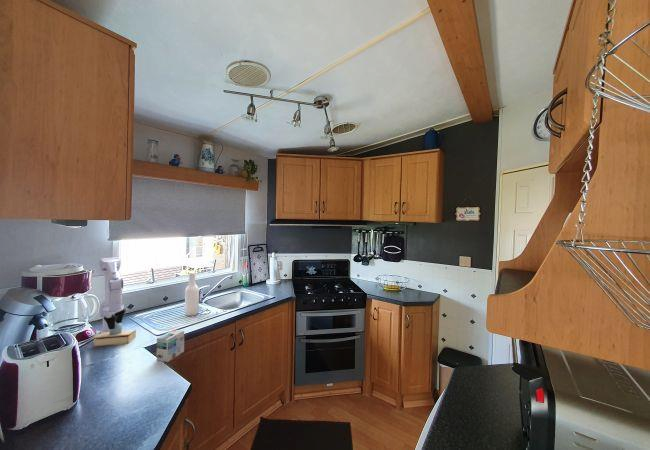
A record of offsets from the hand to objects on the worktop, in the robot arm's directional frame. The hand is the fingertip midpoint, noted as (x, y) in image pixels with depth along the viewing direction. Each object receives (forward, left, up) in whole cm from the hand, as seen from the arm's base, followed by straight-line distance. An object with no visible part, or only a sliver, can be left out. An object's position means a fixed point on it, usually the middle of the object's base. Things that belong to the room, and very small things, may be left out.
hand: (115, 326), depth 139 cm
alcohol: (-37, +29, -9) cm, 48 cm away
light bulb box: (+23, +35, -9) cm, 43 cm away
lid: (0, 0, -5) cm, 5 cm away
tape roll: (0, 0, -4) cm, 4 cm away
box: (0, 0, -9) cm, 9 cm away
